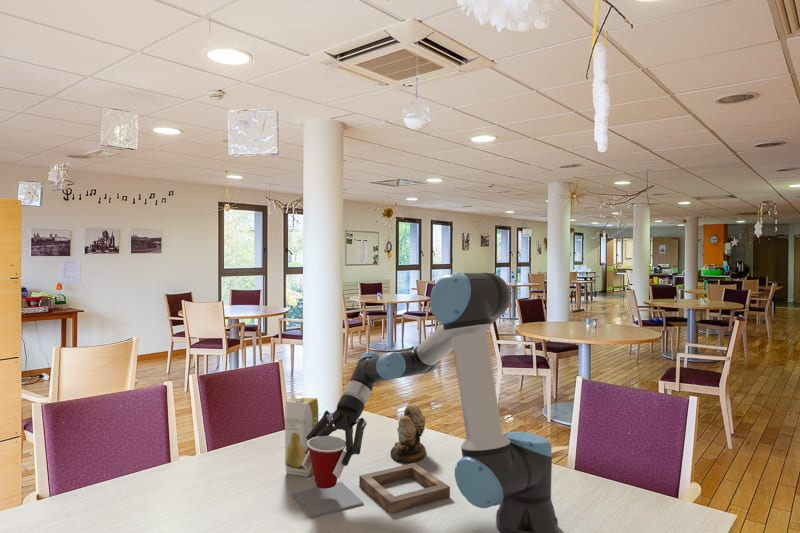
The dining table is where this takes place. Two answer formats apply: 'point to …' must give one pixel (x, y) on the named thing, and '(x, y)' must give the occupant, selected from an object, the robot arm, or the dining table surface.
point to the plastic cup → (325, 459)
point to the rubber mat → (327, 499)
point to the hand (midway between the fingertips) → (320, 471)
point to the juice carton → (299, 432)
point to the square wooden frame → (408, 500)
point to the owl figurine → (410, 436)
